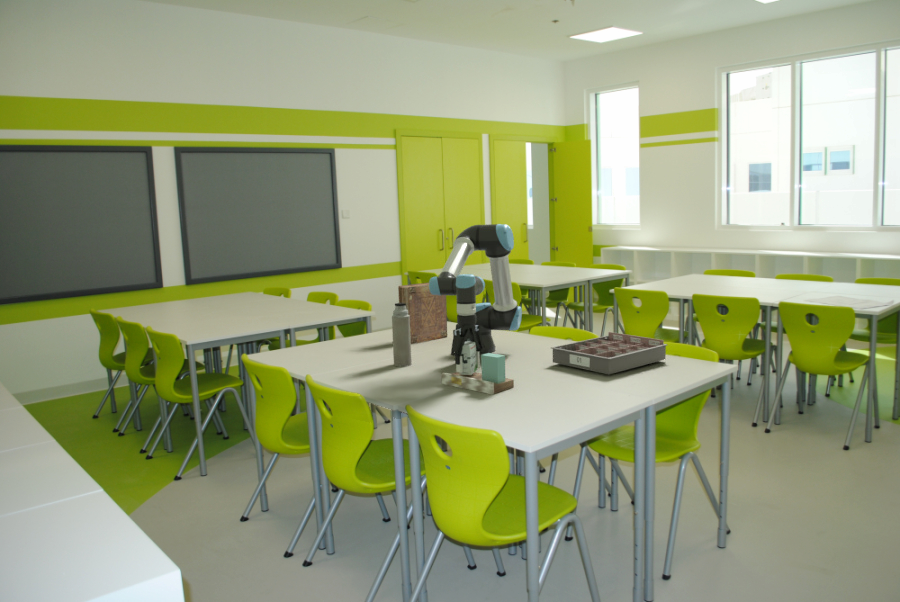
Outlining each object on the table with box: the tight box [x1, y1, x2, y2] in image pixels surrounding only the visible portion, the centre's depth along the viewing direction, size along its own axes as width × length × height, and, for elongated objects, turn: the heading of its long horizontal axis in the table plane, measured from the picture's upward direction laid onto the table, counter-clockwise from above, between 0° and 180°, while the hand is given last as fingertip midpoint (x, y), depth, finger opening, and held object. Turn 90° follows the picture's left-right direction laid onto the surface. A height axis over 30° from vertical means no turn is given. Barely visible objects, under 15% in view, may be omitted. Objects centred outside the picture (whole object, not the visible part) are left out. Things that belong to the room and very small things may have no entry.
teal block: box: [480, 352, 506, 384], centre depth 253 cm, size 8×4×10 cm, turn 47°
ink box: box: [460, 341, 478, 375], centre depth 261 cm, size 9×5×12 cm, turn 161°
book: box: [398, 282, 448, 345], centre depth 355 cm, size 25×9×30 cm, turn 130°
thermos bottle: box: [391, 302, 412, 367], centre depth 297 cm, size 8×8×28 cm
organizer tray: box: [550, 331, 668, 375], centre depth 288 cm, size 32×40×10 cm
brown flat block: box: [441, 371, 515, 395], centre depth 258 cm, size 26×13×4 cm, turn 47°
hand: (468, 369), depth 262 cm, fingers closed on ink box, 9 cm apart
